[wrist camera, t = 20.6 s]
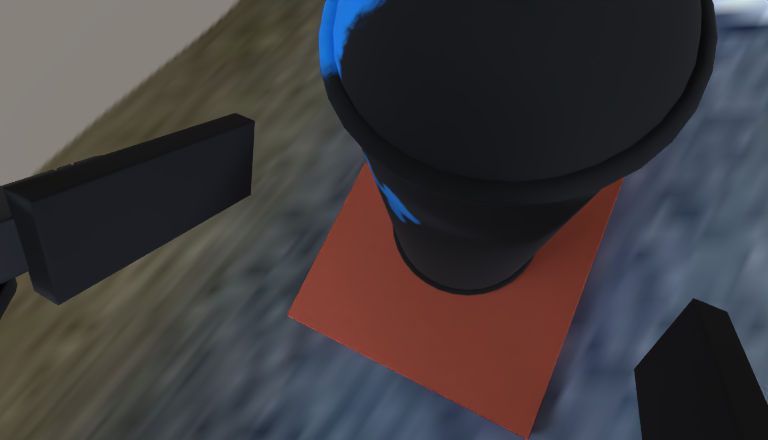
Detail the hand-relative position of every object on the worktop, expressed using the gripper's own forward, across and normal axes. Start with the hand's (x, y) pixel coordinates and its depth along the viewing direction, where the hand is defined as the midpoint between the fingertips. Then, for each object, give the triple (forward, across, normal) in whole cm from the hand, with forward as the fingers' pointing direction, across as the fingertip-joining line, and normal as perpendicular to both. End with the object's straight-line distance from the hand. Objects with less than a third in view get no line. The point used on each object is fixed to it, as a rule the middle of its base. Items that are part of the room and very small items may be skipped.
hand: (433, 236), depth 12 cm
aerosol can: (+11, 0, +5) cm, 12 cm away
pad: (+12, 0, +6) cm, 13 cm away
